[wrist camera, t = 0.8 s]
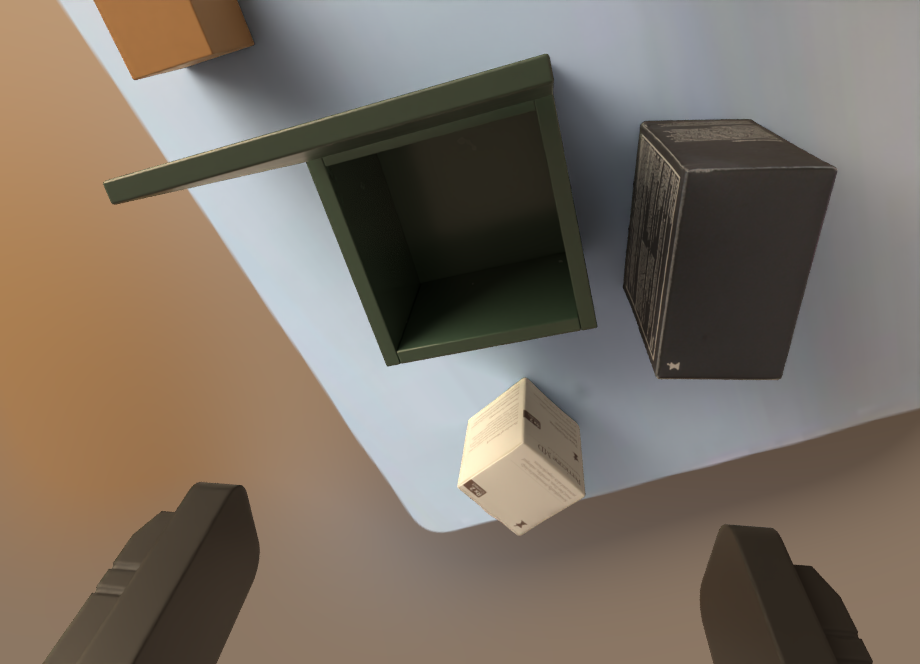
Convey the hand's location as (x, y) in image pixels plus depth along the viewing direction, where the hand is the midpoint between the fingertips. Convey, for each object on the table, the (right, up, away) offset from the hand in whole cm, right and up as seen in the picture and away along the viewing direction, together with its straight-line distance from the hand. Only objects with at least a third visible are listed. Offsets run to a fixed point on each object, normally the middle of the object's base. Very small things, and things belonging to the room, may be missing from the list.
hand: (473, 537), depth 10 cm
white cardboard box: (+4, -3, +35) cm, 35 cm away
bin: (+1, +12, +26) cm, 29 cm away
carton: (-14, +21, +22) cm, 34 cm away
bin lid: (-3, +10, +9) cm, 14 cm away
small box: (+13, +11, +26) cm, 31 cm away
